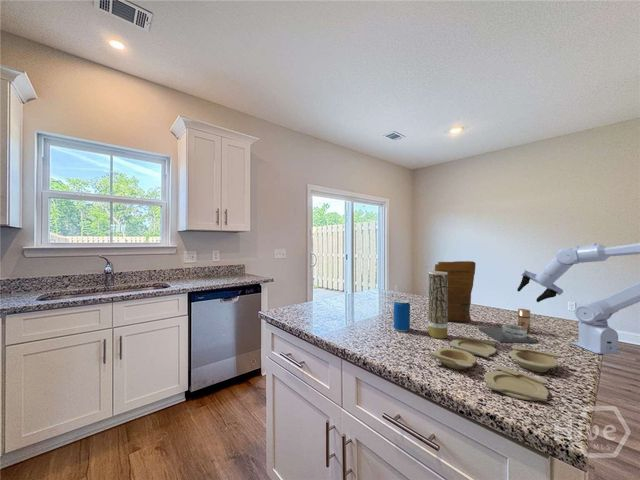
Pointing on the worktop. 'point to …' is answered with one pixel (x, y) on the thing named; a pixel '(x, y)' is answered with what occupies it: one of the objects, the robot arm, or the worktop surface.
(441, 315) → the grey patterned cylinder
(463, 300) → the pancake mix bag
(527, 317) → the brown banded cylinder
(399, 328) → the beverage can
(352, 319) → the worktop surface
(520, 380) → the tableware set
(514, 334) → the collar stand
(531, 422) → the worktop surface
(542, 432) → the worktop surface
